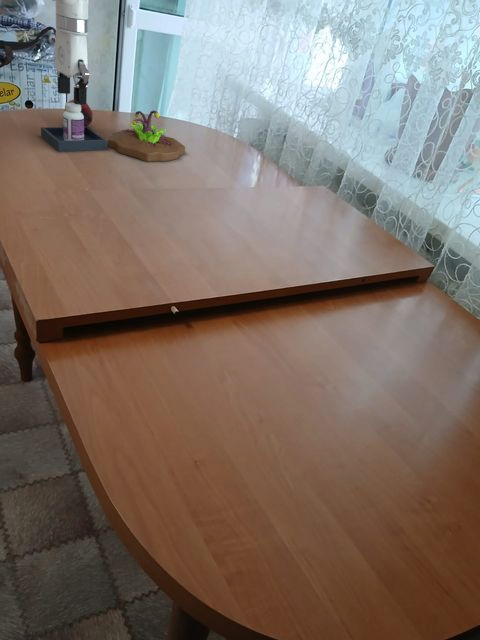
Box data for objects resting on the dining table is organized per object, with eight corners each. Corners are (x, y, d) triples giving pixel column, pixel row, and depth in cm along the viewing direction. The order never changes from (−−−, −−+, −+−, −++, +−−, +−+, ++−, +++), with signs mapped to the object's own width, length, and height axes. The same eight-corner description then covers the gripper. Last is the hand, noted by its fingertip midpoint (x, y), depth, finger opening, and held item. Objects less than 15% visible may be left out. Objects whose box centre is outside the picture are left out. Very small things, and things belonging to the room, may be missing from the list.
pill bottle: (86, 140, 153) (86, 104, 147) (80, 145, 149) (80, 109, 143) (67, 136, 153) (66, 100, 147) (60, 141, 148) (59, 104, 143)
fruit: (85, 124, 166) (85, 96, 162) (97, 132, 162) (97, 104, 157) (60, 124, 162) (60, 95, 157) (71, 133, 157) (71, 103, 153)
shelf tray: (58, 151, 144) (58, 141, 142) (41, 136, 150) (40, 127, 149) (106, 149, 152) (106, 140, 150) (87, 135, 158) (87, 126, 157)
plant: (152, 166, 148) (155, 124, 142) (97, 144, 154) (97, 102, 147) (194, 154, 163) (198, 115, 157) (143, 134, 169) (145, 95, 162)
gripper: (42, 15, 136) (44, 88, 146) (72, 31, 127) (72, 108, 137) (71, 19, 141) (71, 90, 151) (102, 34, 132) (100, 108, 141)
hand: (71, 98), depth 144 cm, fingers open, 9 cm apart
